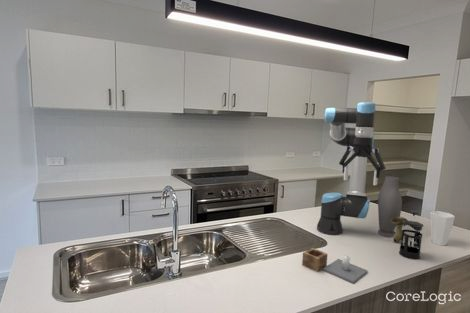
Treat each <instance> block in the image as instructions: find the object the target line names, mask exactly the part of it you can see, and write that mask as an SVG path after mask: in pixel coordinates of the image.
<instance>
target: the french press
mask: <svg viewBox="0 0 470 313" xmlns="http://www.w3.org/2000/svg"><path fill="white" fill-rule="evenodd" d="M409 213H410V214H412V216H413V217H412V220H408V221H403V223H404V225H403V227H405V226H409V227H411V229H402V238H401V241H400V246H399V251H398V254H399V255H400V256H402V257H403V258H406V259H409V260H419V259H421V248H422V247H421V246H422V238H423V233H421V231H422V230H423V228H424V224H423V223H421V222H418V221H415V216H416V215H419V214H420V212H418V211H414V210H410V211H409ZM407 233H411V234H407ZM413 234H414V235H413ZM412 239H413V240H412Z"/></svg>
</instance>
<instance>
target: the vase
mask: <svg viewBox="0 0 470 313" xmlns="http://www.w3.org/2000/svg"><path fill="white" fill-rule="evenodd" d="M399 181H400V178H399V177H398V176H397V177H396V176H390V175H389V176H388V175H387V176H385V179H384V181H383V184H382V186H381V188H380V190H379V193H378V197H377V198H378V199H377V209H378V210H377V212H378V213H377V214H378V227H379V229H378V231H377V234H378V235H379V236H381V237H386V238H393V237H394V235H395V233H396V225H395V224H393V223H392V222H391V219H392V218H393V217H396V216H399V217H401V211H402V207H403V198H402V194H401V192H400V189H399V188H400V186H399V185H400V184H399V183H400V182H399Z"/></svg>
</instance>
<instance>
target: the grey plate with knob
mask: <svg viewBox="0 0 470 313" xmlns="http://www.w3.org/2000/svg"><path fill="white" fill-rule="evenodd" d="M350 261H351V256H349V255H346V254H343V255H342V259H340V258H337V259H336V260H334V261H333V262H331V263H329V264H327V266H326V267H324V268H323V269H322V271H323V272H326V273H328V274H330V275H333V276H335V277H337V278H339V279H342V280H344V281H346V282H348V283H351V284H353V285H354V284H355V283H356V282H357V281H359V280H360V279H361V278H362V277H363V276H365V275H367V274H368V269H365V268H362V267H359V266H358V265H355V264H353V263H350Z"/></svg>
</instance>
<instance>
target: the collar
mask: <svg viewBox="0 0 470 313" xmlns="http://www.w3.org/2000/svg"><path fill="white" fill-rule="evenodd" d="M301 265H302V266H304V267H306V268H308V269H311V270H313V271H315V272H316V273H317V272H319V271H321V270H323V268H324V267H326V266H328V253H327V252H324V251H323V250H322V251H321V250H319V249H317V248H314V247H311V248H309V249H308V250H305V251H304V252H302V261H301Z"/></svg>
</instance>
